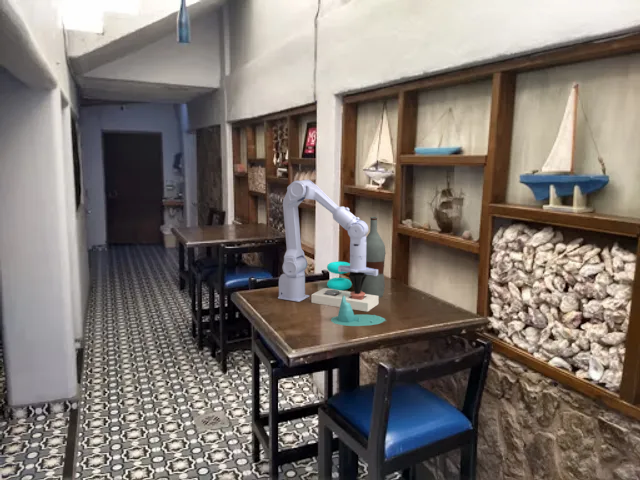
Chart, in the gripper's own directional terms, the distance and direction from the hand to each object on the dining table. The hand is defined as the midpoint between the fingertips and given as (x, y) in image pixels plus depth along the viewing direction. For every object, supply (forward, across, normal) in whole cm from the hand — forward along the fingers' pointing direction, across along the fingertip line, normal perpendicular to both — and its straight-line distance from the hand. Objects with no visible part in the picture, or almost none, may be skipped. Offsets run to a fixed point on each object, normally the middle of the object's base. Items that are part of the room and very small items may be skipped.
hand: (357, 293), depth 171 cm
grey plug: (+4, -10, 0) cm, 11 cm away
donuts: (+5, -16, +18) cm, 25 cm away
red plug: (+3, 0, 0) cm, 3 cm away
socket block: (+4, -5, 0) cm, 7 cm away
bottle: (+5, 0, +14) cm, 15 cm away
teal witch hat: (+5, +7, -14) cm, 16 cm away
